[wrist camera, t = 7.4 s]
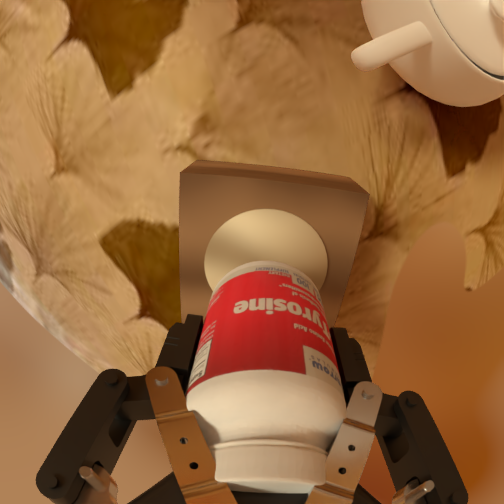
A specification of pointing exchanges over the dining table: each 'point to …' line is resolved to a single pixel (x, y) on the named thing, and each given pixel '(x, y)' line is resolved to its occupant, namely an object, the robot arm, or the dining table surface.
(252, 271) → the pill bottle
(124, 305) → the dining table surface
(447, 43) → the teapot
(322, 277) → the pedestal
